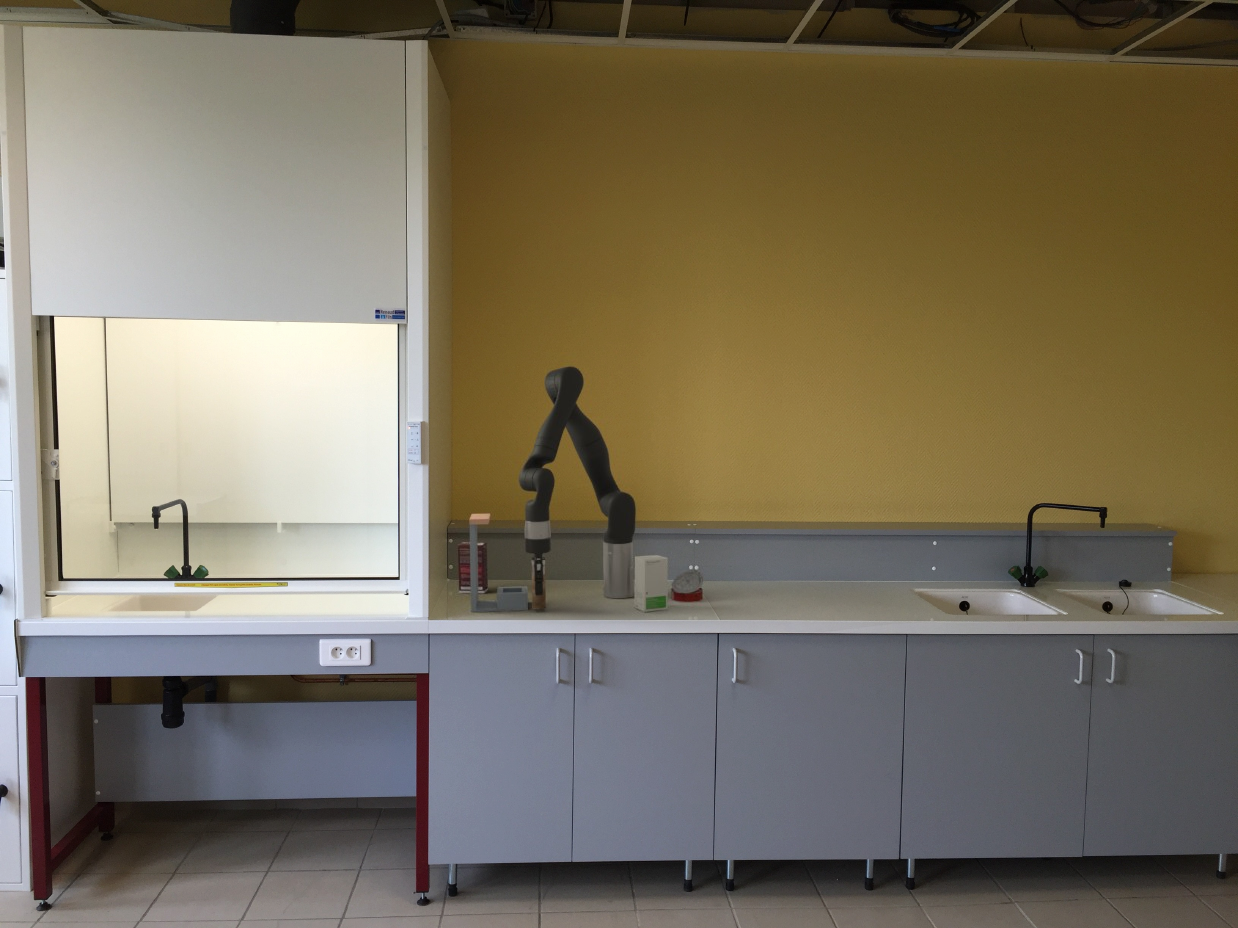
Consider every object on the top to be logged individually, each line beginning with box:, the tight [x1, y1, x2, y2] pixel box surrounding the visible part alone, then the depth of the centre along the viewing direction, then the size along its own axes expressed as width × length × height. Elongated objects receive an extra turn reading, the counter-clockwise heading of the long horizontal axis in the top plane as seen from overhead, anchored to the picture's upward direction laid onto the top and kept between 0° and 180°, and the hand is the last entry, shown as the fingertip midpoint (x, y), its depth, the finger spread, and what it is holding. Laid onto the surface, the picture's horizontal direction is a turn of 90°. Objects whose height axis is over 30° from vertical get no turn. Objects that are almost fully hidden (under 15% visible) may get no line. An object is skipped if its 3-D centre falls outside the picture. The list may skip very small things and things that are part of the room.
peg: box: [531, 565, 547, 610], centre depth 241 cm, size 4×4×12 cm
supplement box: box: [457, 541, 489, 594], centre depth 265 cm, size 9×5×16 cm, turn 84°
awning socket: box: [468, 513, 529, 613], centre depth 246 cm, size 16×11×28 cm, turn 96°
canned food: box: [670, 569, 704, 603], centre depth 257 cm, size 11×10×10 cm
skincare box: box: [634, 554, 669, 613], centre depth 244 cm, size 8×7×16 cm
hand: (538, 592), depth 241 cm, fingers closed on peg, 4 cm apart
